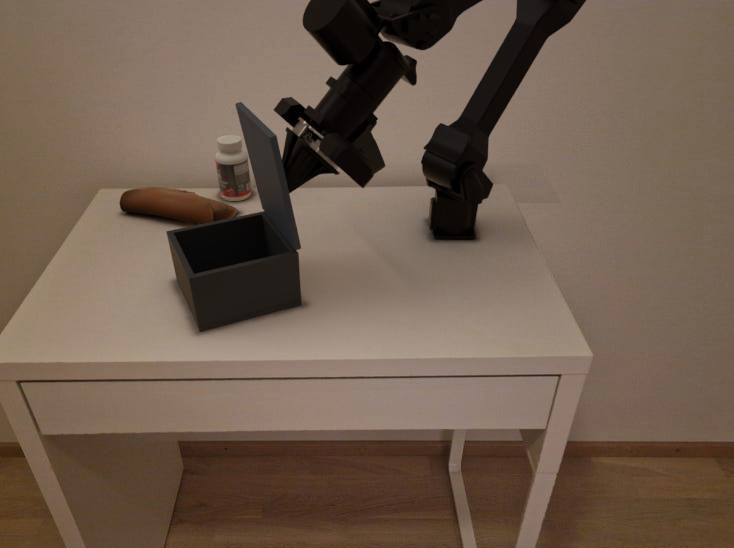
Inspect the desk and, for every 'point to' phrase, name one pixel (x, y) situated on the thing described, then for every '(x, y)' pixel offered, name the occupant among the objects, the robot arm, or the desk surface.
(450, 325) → the desk surface
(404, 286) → the desk surface
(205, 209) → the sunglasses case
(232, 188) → the pill bottle
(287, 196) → the cover
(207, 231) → the desk case
